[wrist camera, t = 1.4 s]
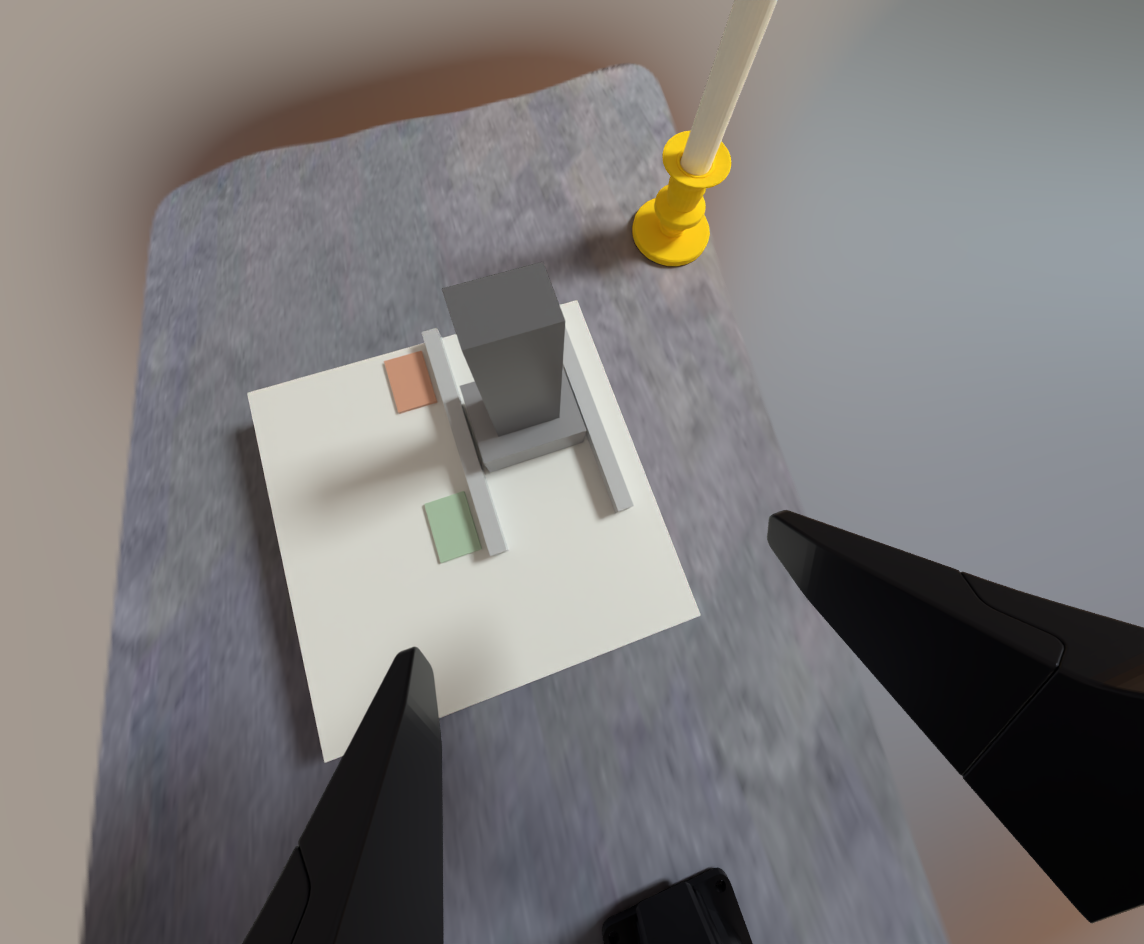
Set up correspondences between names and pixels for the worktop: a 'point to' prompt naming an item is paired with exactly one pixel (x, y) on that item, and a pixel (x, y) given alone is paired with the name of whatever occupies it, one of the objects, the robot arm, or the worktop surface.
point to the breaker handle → (515, 366)
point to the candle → (701, 147)
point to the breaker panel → (455, 532)
